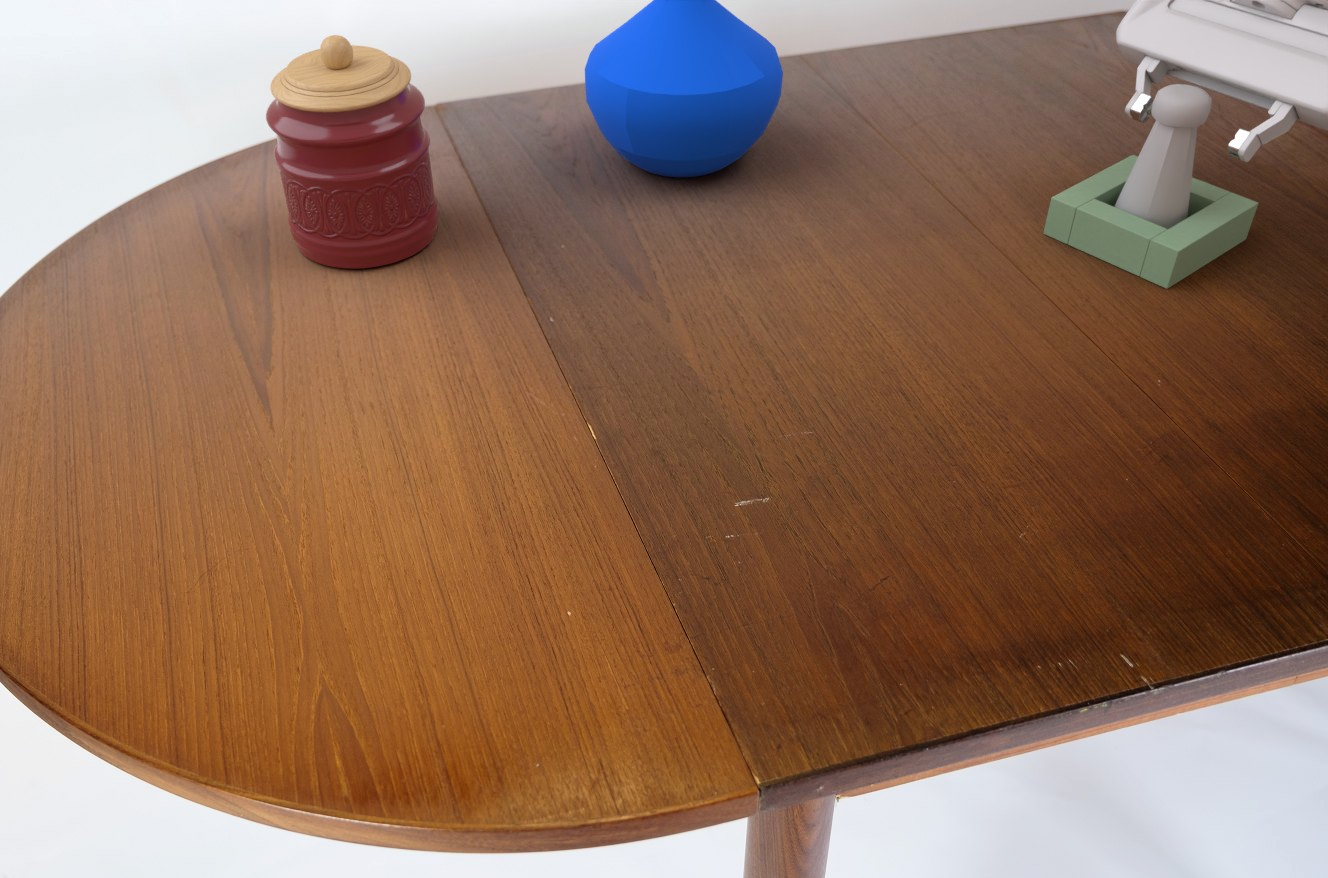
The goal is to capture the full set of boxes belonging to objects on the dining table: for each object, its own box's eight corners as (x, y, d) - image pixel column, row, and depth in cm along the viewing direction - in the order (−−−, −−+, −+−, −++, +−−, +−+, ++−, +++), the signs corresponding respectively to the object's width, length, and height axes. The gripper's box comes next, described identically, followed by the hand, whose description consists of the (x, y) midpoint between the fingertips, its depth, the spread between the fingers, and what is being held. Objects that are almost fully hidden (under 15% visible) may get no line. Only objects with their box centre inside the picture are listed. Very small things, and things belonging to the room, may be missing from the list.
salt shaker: (1150, 261, 103) (1195, 112, 95) (1093, 234, 107) (1131, 88, 98) (1193, 239, 106) (1240, 92, 97) (1135, 213, 109) (1176, 69, 101)
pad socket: (1246, 239, 105) (1259, 202, 103) (1166, 289, 100) (1178, 251, 98) (1123, 190, 112) (1132, 154, 110) (1042, 233, 107) (1051, 197, 105)
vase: (777, 115, 126) (790, -83, 113) (776, 203, 112) (792, -12, 100) (598, 111, 128) (592, -84, 115) (576, 197, 114) (566, -15, 101)
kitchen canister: (430, 190, 116) (405, -1, 104) (451, 259, 106) (426, 57, 95) (289, 210, 113) (248, 17, 102) (297, 282, 104) (252, 78, 92)
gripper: (1426, 43, 94) (1311, 199, 96) (1188, -25, 107) (1091, 114, 109) (1418, -3, 90) (1297, 163, 92) (1170, -68, 102) (1069, 79, 104)
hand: (1183, 136), depth 101 cm, fingers open, 8 cm apart
